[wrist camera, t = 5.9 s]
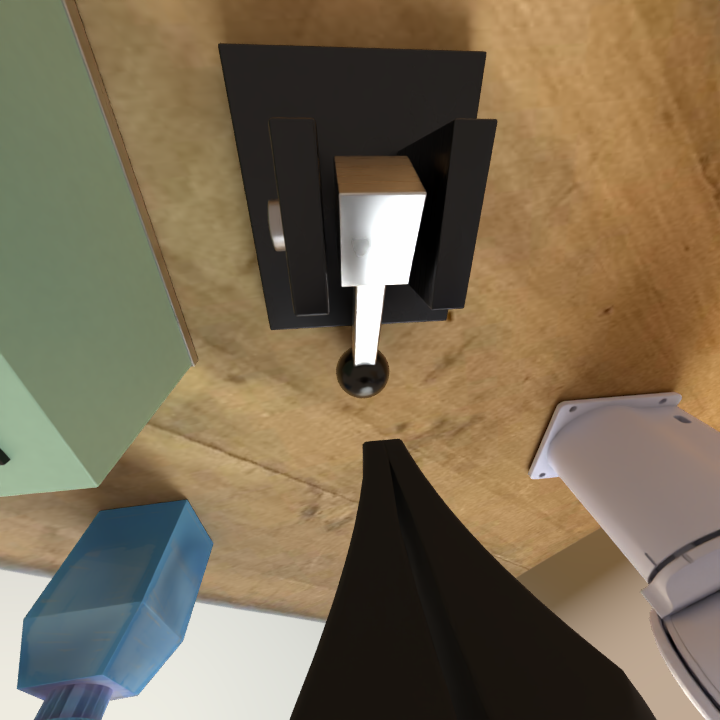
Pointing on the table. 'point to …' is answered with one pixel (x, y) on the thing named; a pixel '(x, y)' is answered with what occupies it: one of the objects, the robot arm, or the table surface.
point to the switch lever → (373, 253)
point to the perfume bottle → (113, 609)
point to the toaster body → (73, 266)
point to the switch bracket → (356, 138)
